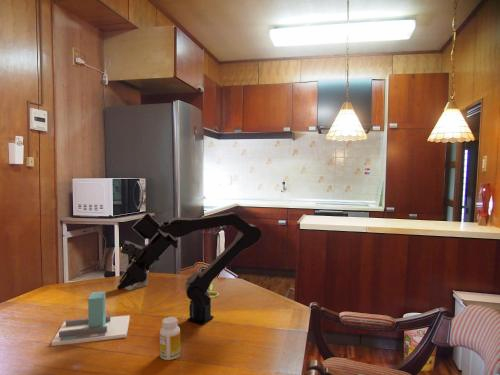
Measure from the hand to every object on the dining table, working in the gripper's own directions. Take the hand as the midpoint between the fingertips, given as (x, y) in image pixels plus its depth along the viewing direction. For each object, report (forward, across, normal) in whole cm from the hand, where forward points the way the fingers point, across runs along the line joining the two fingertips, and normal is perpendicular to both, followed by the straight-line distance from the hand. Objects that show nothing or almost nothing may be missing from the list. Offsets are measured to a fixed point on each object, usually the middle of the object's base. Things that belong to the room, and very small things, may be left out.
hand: (119, 285), depth 108 cm
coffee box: (+8, -40, +11) cm, 43 cm away
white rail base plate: (+15, 0, +4) cm, 15 cm away
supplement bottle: (-1, +20, +20) cm, 29 cm away
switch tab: (+13, 0, +4) cm, 14 cm away
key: (-13, -24, +33) cm, 43 cm away
